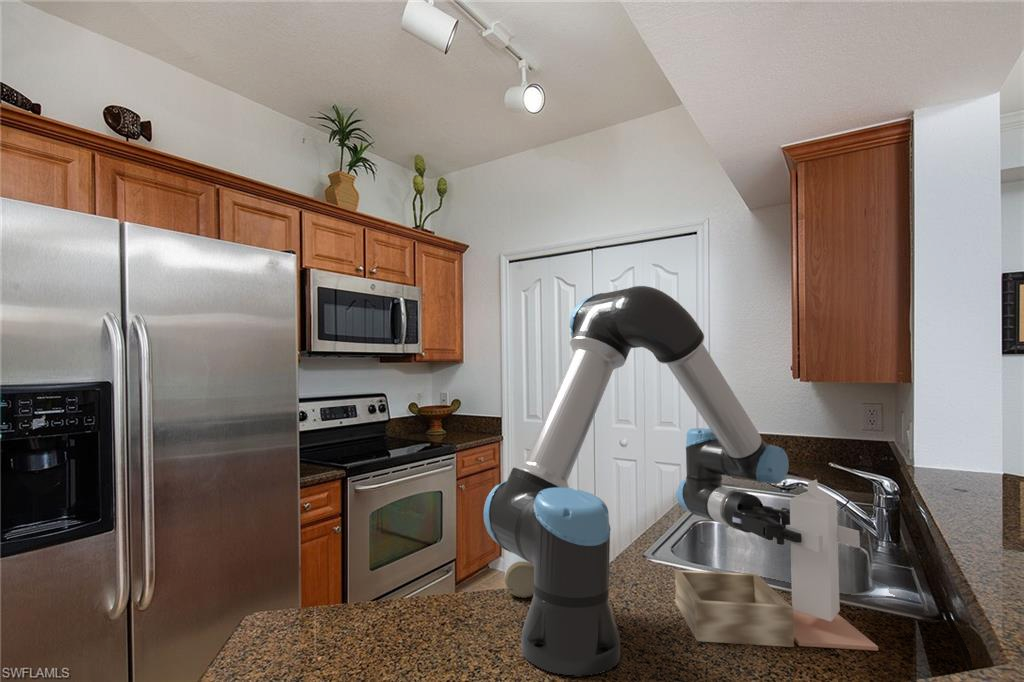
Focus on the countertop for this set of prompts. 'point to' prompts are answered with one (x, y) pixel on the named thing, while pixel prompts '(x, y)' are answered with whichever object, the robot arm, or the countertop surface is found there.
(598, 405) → the robot arm
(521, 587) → the ceramic mug
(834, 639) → the mat
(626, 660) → the countertop surface
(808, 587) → the milk
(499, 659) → the countertop surface
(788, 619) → the holder
